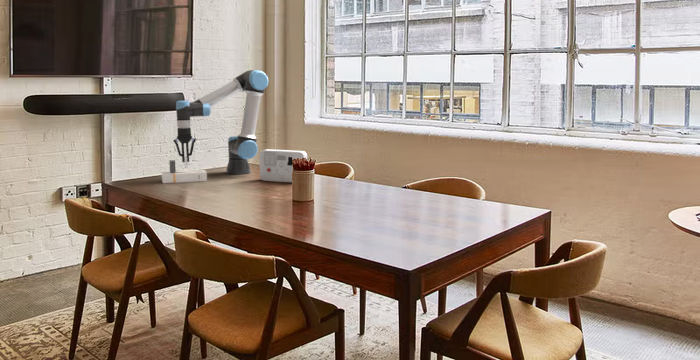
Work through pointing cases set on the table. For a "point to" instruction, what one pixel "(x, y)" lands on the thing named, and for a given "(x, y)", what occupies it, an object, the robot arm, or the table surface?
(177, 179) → the console
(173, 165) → the fader
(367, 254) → the table surface
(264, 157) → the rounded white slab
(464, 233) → the table surface
